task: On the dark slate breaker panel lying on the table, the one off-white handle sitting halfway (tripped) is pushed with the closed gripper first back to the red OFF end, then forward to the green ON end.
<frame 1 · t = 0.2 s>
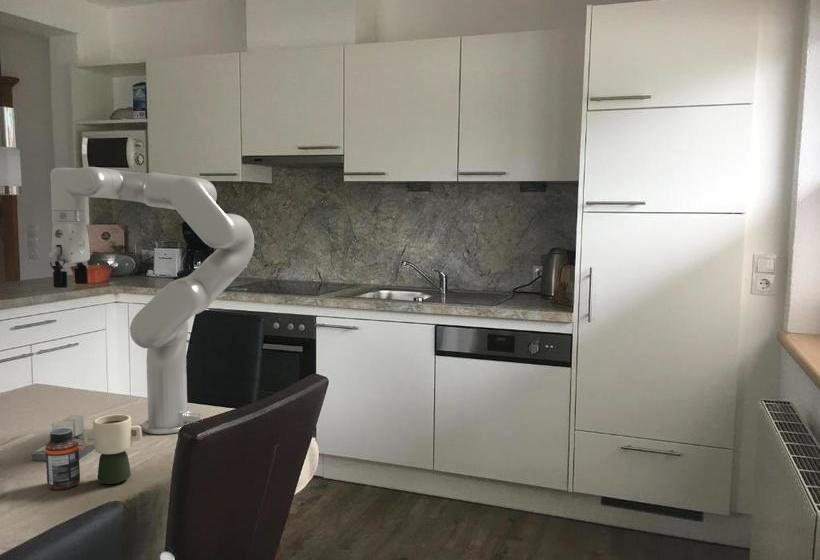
hand: (71, 285, 172), 36 cm above the table, tool pointing down, fingers open, 9 cm apart
breaker a: (73, 425, 162), point 4 cm above the table, slide at 5.0 cm
breaker b: (62, 431, 158), point 4 cm above the table, slide at 5.0 cm
character mug: (114, 481, 139), on the table
panel: (73, 448, 158), on the table
breaker tripped: (61, 438, 153), point 4 cm above the table, slide at 2.5 cm
supplement bottle: (63, 486, 137), on the table
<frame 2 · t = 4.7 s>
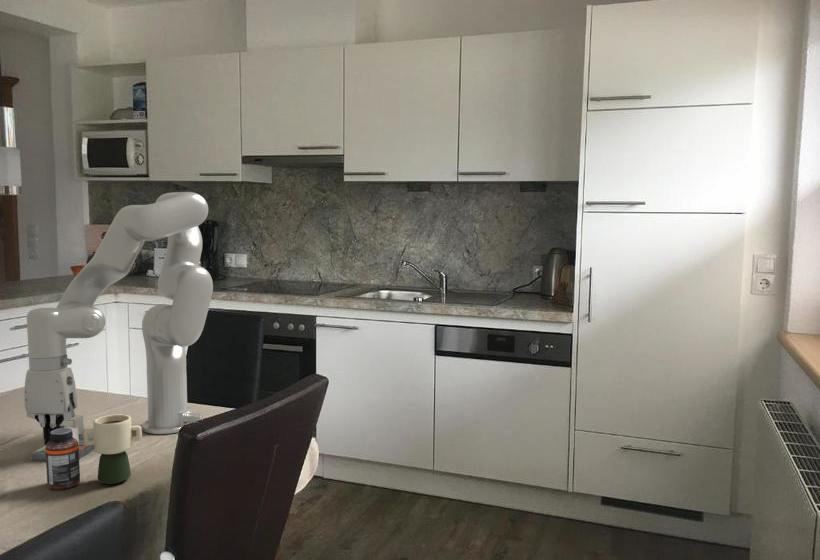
hand: (52, 442, 153), 3 cm above the table, tool pointing down, fingers closed
breaker tripped: (67, 438, 153), point 4 cm above the table, slide at 1.0 cm, touching gripper
everything else where it was.
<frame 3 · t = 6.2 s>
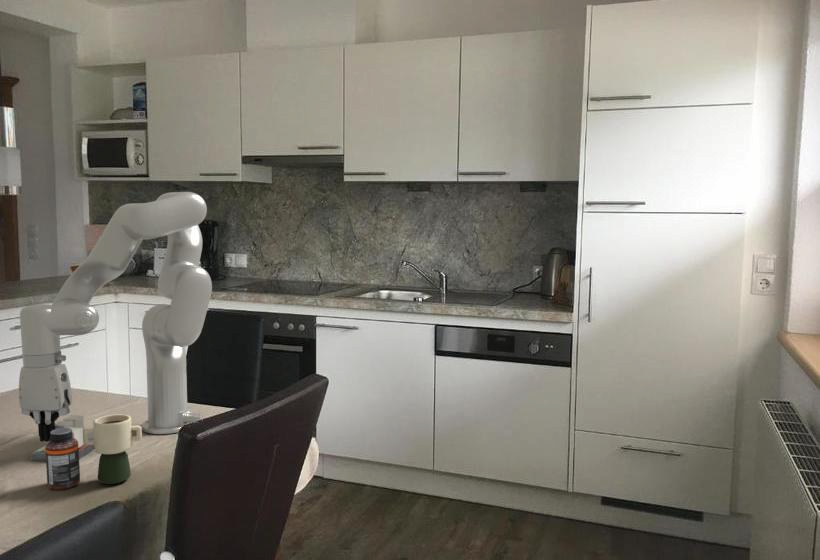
hand: (47, 439, 154), 3 cm above the table, tool pointing down, fingers closed
breaker tripped: (72, 438, 153), point 4 cm above the table, slide at 0.0 cm
everything else where it was.
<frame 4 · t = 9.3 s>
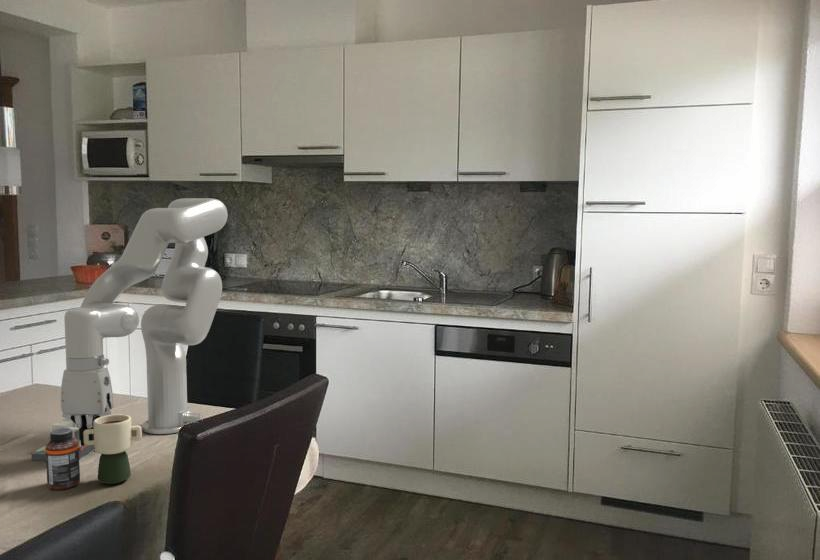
hand: (87, 443, 153), 3 cm above the table, tool pointing down, fingers closed
breaker tripped: (72, 438, 153), point 4 cm above the table, slide at 0.1 cm, touching gripper
everything else where it was.
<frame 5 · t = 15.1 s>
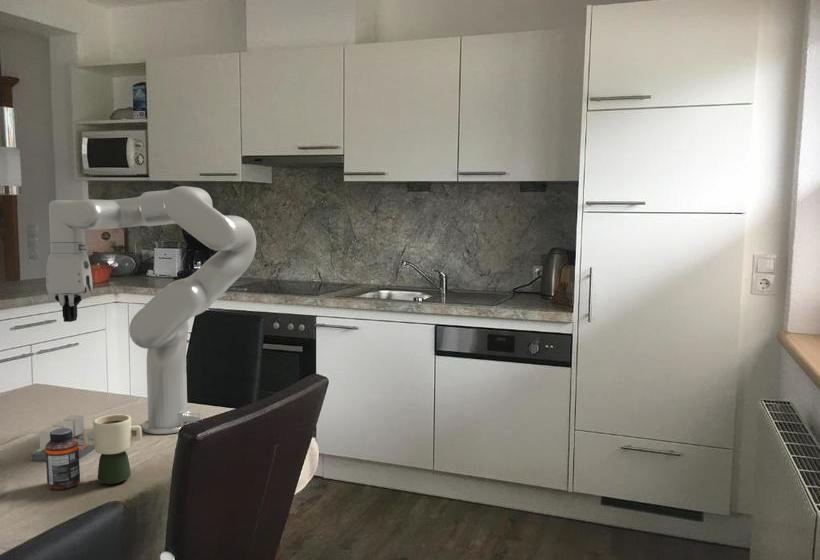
hand: (70, 320, 173), 27 cm above the table, tool pointing down, fingers closed
breaker tripped: (50, 437, 153), point 4 cm above the table, slide at 5.0 cm
everything else where it was.
at the end: breaker tripped slide at 5.0 cm; breaker b slide at 5.0 cm; breaker tripped touching nothing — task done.
